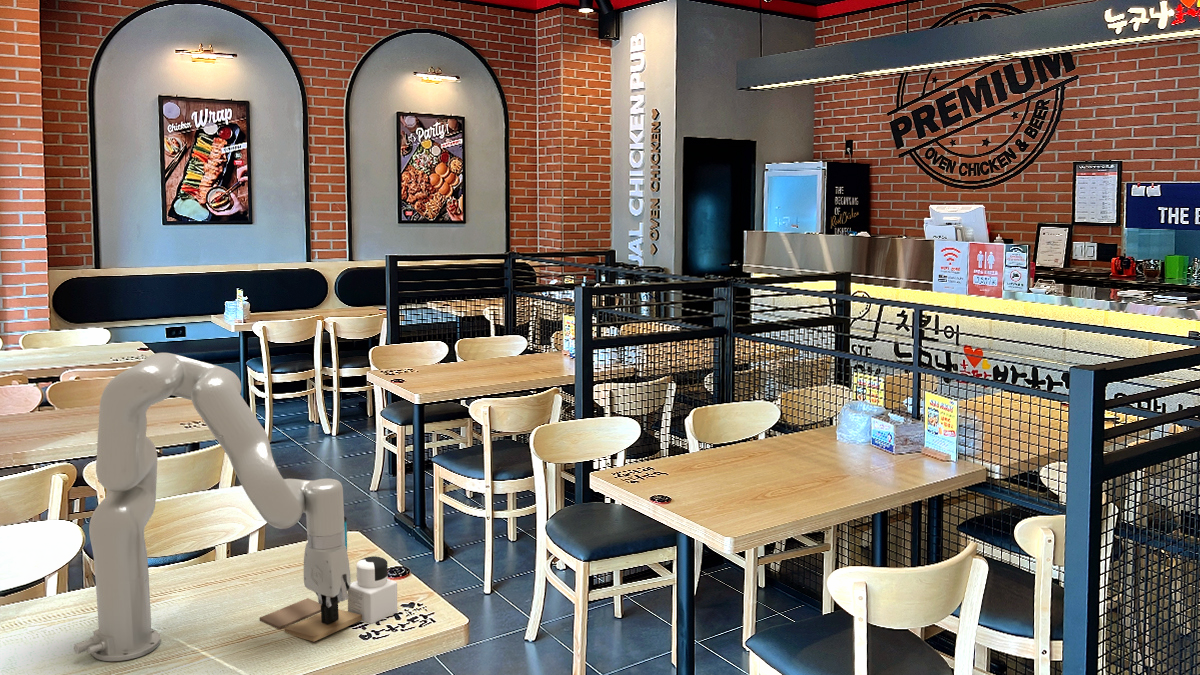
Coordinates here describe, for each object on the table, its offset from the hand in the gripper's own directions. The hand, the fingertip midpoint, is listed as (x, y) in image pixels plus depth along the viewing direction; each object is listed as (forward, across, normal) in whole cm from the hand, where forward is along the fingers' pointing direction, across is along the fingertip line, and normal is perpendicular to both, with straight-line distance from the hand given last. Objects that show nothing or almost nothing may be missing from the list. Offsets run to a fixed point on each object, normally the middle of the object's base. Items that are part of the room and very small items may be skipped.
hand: (330, 621), depth 204 cm
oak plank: (+1, -1, -1) cm, 2 cm away
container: (+3, +2, +10) cm, 11 cm away
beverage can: (+2, -21, +18) cm, 28 cm away
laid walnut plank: (+2, -5, -1) cm, 6 cm away
